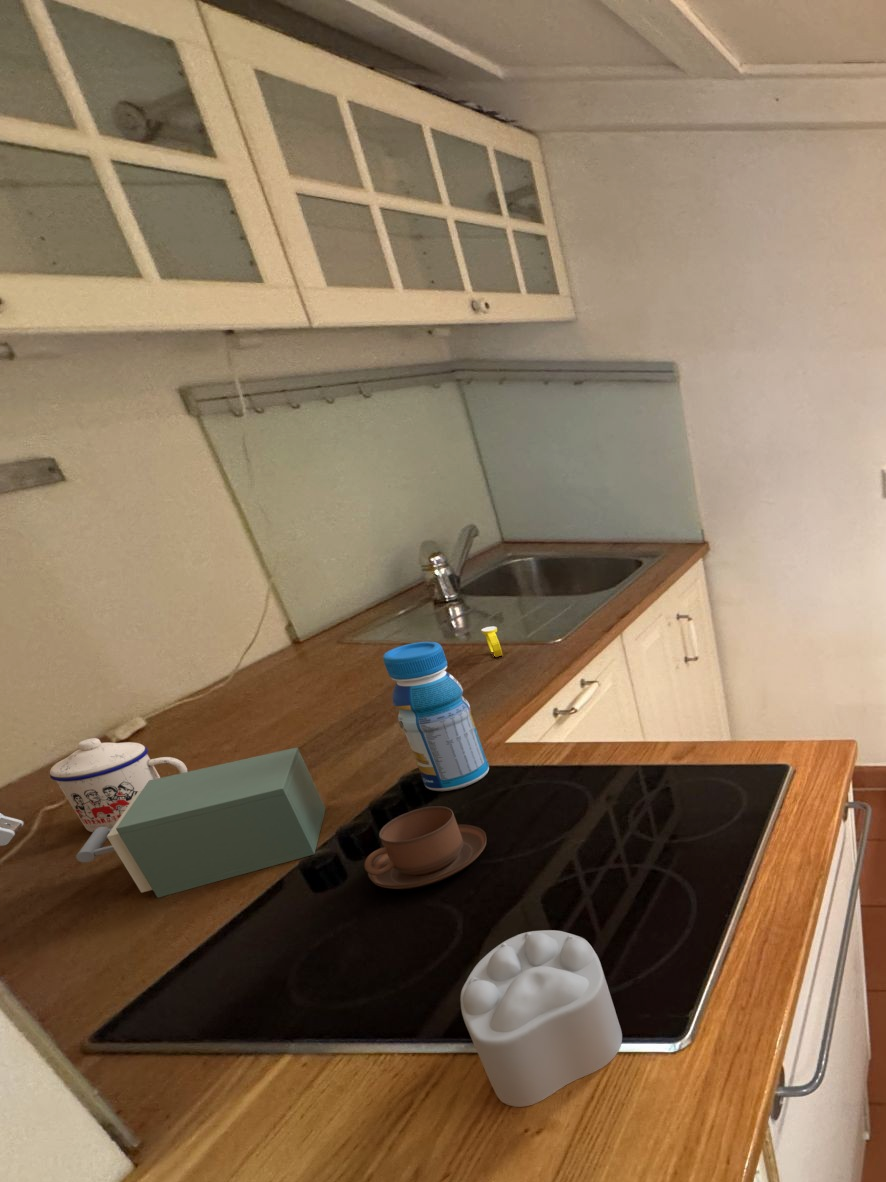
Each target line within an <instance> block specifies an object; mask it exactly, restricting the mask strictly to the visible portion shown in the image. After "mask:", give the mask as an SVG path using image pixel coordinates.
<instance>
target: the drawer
mask: <svg viewBox="0 0 886 1182" xmlns="http://www.w3.org/2000/svg"><path fill="white" fill-rule="evenodd" d="M140 793H141V791H139V792H137V794H136V795H135V797H134V798H133V799H132V801H131V802H130V804H129V805H128V807H127V808H126V809H125V811H124V812H123V814H122V815H121V817H120V818H119V820H118V821H117V822H116V824H115V825H114V827H113V828H111V829H109V828H108V827H99V828H97V829H95V831H94V832H91V833H92V834H91V835H90V836H89V837H88V839H87V840H86V842H85V843H84V844H83V846H82V847H81V848H80V850H79V851H78V853H77V854H76V855H75V859H76V860H77V861H78V862H80V863H91V862H92V861H94V859H95V858H96V857H98V856H102V855H105V854H110V853H113V852H115V853H116V855H117V856H118V858H119V859H120V861H121V862H122V864H123V866H124V868H125V869H126V871H127V872H128V874H129V875H130V877H131V879H132V880H133V882H134V883H135V885H136V887H137V888H138V890H139V891H140V893H141V894H142V893H145V892H149V891H153V890H152V888H151V886H150V885H149V883H148V881H147V880H146V878H145V876H144V875H143V873H142V871H141V870H140V868H139V866H138V865H137V863H136V862H135V860H134V858H133V857H132V855H131V853H130V852H129V850H128V848H127V847H126V845H125V843H124V842H123V840H122V838H121V837H120V835H119V833H118V832H117V830H116V828H117V826H118V825H119V823H120V822H121V820H122V819H123V818H124V816H125V815H126V813H127V812H128V810H129V809H130V807H131V806H132V804H133V803H134V802H135V800H136V799H137V797H138V796H139V794H140ZM107 841H109V843H110V844H111V845H108V846H104V845H105V844H106V842H107Z"/></svg>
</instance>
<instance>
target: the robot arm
mask: <svg viewBox="0 0 886 1182" xmlns="http://www.w3.org/2000/svg"><path fill="white" fill-rule="evenodd" d="M24 825H25V823H24V821H23V820H22V819H18V818H15V817H10V816H6V815H4V814H3V813H1V812H0V847H4V846H7V845H9V843H10V842H11V841H12V840H13V838H14V837H15V836H16V835H17V834H18V833H19V831H20V830H21V828H23V826H24Z"/></svg>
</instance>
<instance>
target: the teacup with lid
mask: <svg viewBox="0 0 886 1182" xmlns="http://www.w3.org/2000/svg"><path fill="white" fill-rule="evenodd" d="M77 748H78V749H76V750H75V751H73V752H72V753H71V754H69V756H67V757H65V758H63V759H61V760H60V761H58V762H56V763H55V764H53V766H52V767H51V768H50V770H49V778H50V779H51V780H53V781H55V782H56V783H57V786H59V788H60V790H61V792H62V793H63V794H64V796H65V798H66V799H67V801H68V803H69V805H70V806H71V808H72V809H73V810H74V812H75V814H76V816H77V817H78V819H79V820H80V822H81V824H82V825H83V826H84V828H85V830H87V831H88V832H90V833H93V832H94V831H95V829H97V828H99V827H108V828H109V829H111V828H113V827H114V825H115V824H116V822H117V821H118V820H119V818H120V817H121V815H122V814H123V812H124V811H125V809H126V808H127V807H128V805H129V804H130V802H131V801H132V799H133V798H134V797H135V795H136V794H137V792H139V791H142V790H143V788H144V787H145V785H146V784H147V783H148V781H149V780H153V779H158V778H161V776H160V773H158V771H157V769H156V767H155V766H157V765H170V766H174V767H175V769H177V770H178V774H180V773H185V772H189V771H188V767H187V766H186V764H185V763H184V762H183V761H182V760H180V759H178V758H175V757H171V756H162V757H161V756H160V757H157V758H152V759H151V758H150V756H149V754H148V752H149V750H148V748H147V747H146V746H145V745H144V744H141V743H139V742H133V741H128V742H127V741H125V742H124V741H123V742H102V741H101V740H100V739H99V738H96V737H93V738H92V737H91V738H87V739H83V740H81V741H79V742H78V744H77Z"/></svg>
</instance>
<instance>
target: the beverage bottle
mask: <svg viewBox="0 0 886 1182" xmlns="http://www.w3.org/2000/svg"><path fill="white" fill-rule="evenodd" d="M382 658H383V664H384V666H385V668H386V671H387V674H388V676H389V677H390V678H391V680H392V681H395V682H396V683H395V685H394V688H393V692H392V705H393V707H394V709H396V710H397V711H398V715H397V720H398V724H399V727H400V728H401V729H402V730H403V732H404V735H405V737H406V740H407V743H408V745H409V747H410V750H411V753H412V755H413V757H414V760H415V763H416V765H417V768H418V770H419V773H420V776H421V780H422V782H423V785H424V786H425V788H426V789H428V790H430V791H434V792H448V791H456V790H459V789H460V790H461V789H463V788H466V787H468V786H471V785H474V784H475V783H477V782H479V781H480V780H482V779H484V778H485V777H486V775H487V774H488V772H489V770H490V765H489V762H488V759H487V758H486V754H485V752H484V749H483V745H482V742H481V740H480V736H479V734H478V730H477V727H476V725H475V721H474V719H473V716H472V712H471V705H470V703H469V701H468V700H467V698H465V697H464V696H463V693H464V688H463V686H462V684H461V683H460V682H459V681H458V680H457V678H456V677H454V676H453V675H452V674H450V673H449V672H448V671H447V669H448V661H447V657H446V655H445V651H444V649H443V647H442V645H441V644H440V643H438V642H437V641H436V642H435V641H419V642H412V643H408V644H403V645H399V646H396V647H394V648H391V649H390V650H387V651H386V652H385V653H384V654H383V655H382Z"/></svg>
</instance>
